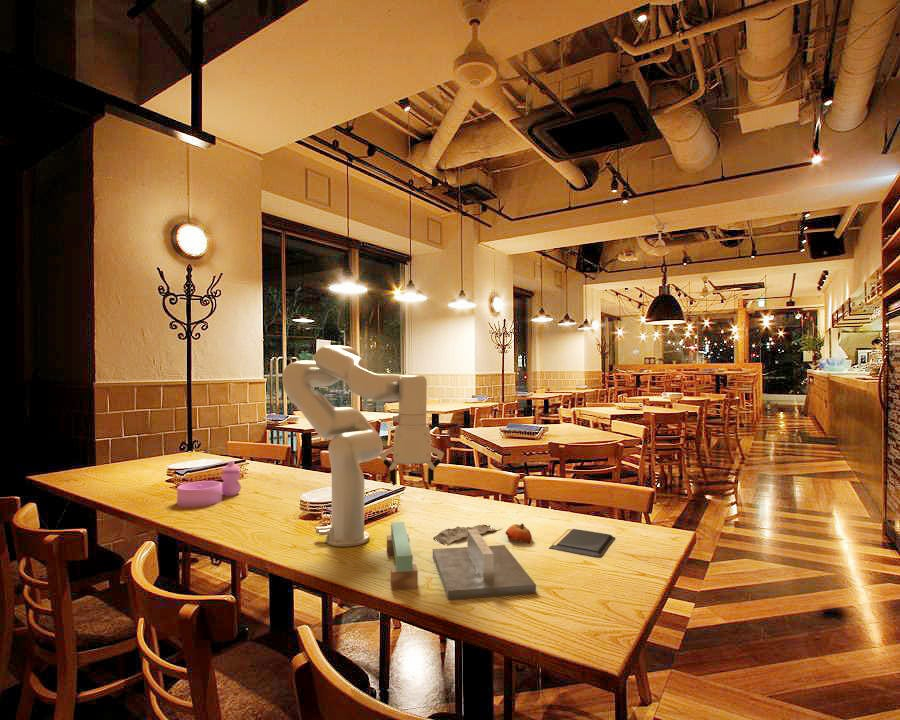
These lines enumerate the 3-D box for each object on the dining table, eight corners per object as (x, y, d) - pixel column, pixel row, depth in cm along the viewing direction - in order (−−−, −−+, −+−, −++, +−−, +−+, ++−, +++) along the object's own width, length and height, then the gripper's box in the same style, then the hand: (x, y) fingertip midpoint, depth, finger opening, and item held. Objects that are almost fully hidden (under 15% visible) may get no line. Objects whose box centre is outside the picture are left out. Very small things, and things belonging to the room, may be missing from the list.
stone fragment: (429, 544, 147) (455, 551, 141) (429, 534, 147) (455, 541, 141) (481, 523, 167) (506, 529, 160) (481, 514, 167) (506, 520, 160)
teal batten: (397, 572, 114) (397, 556, 114) (391, 535, 140) (391, 522, 140) (412, 571, 115) (412, 555, 115) (403, 534, 140) (403, 522, 140)
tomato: (525, 542, 142) (512, 519, 146) (508, 555, 144) (496, 532, 148) (539, 539, 148) (527, 517, 152) (523, 551, 150) (511, 529, 154)
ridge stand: (448, 600, 109) (448, 563, 109) (432, 556, 134) (432, 526, 135) (536, 593, 112) (536, 557, 112) (504, 552, 138) (504, 523, 138)
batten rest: (391, 590, 114) (391, 572, 114) (386, 549, 139) (386, 535, 140) (417, 588, 115) (417, 570, 115) (408, 548, 140) (408, 534, 140)
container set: (193, 509, 180) (194, 472, 180) (168, 504, 187) (168, 468, 187) (251, 494, 202) (251, 462, 202) (226, 490, 209) (226, 458, 209)
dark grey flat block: (600, 553, 133) (546, 543, 141) (600, 561, 133) (546, 550, 141) (618, 533, 151) (568, 525, 158) (618, 539, 150) (568, 531, 158)
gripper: (380, 422, 131) (379, 487, 130) (445, 422, 133) (445, 486, 132) (380, 419, 138) (379, 481, 138) (442, 419, 140) (442, 480, 140)
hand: (411, 483), depth 135 cm, fingers open, 9 cm apart
